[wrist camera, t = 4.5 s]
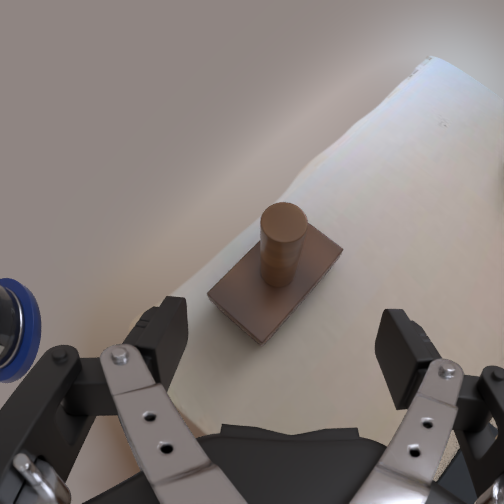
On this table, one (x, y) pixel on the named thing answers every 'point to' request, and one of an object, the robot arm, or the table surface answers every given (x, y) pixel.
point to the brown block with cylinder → (275, 272)
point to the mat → (460, 477)
